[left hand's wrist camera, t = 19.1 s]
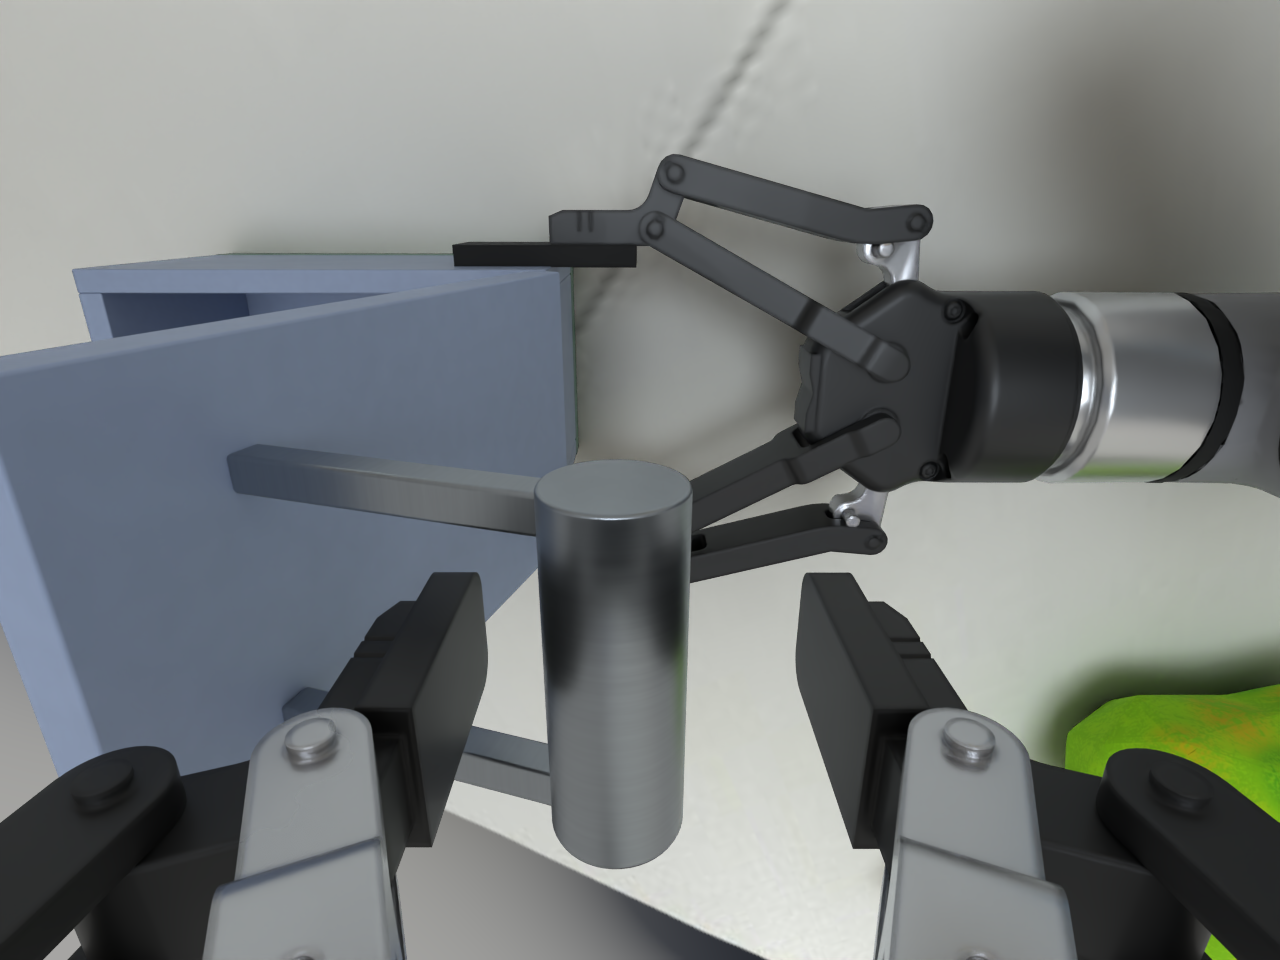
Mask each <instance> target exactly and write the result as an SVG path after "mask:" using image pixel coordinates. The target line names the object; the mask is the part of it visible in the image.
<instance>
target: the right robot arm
mask: <svg viewBox="0 0 1280 960" xmlns="http://www.w3.org/2000/svg"><path fill="white" fill-rule="evenodd" d="M684 198H686V199H689V200H693V201H696V202H700V203H703V204H707V205H711V206H714V207H718V208H721V209H725V210H728V211H732V212H735V213H739V214H742V215H746V216H749V217H753V218H756V219H760V220H763V221H767V222H770V223H774V224H777V225H781V226H785V227H788V228H792V229H795V230H799V231H802V232H806V233H809V234H813V235H816V236H820V237H823V238H827V239H832V240H836V241H842V242H850V243H856V250H857V255H858V257H859V258H860V260H861V261H863V262H865V263H868V264H872V265H876V266H877V267H879V268H880V269H881V270H882V273H883V276H884V281H883V282H881V283H879V284H878V285H877V286H875V287H874V288H872V289H871V290H869V291H868V292H866V293H865V294H863V295H862V296H860V297H859V298H858V299H856V300H855V301H853V302H852V303H850V304H849V305H847V306H846V307H844V308H843V309H842V310H840V311H839V312H837V313H835V312H834V311H832V310H830V309H828V308H827V307H825V306H823V305H822V304H820V303H818V302H816V301H814V300H813V299H811V298H809V297H807V296H806V295H804V294H802V293H801V292H799V291H797V290H795V289H794V288H792V287H790V286H788V285H787V284H785V283H783V282H782V281H780V280H778V279H776V278H775V277H773V276H771V275H770V274H768V273H766V272H764V271H763V270H761V269H759V268H758V267H756V266H754V265H752V264H751V263H749V262H747V261H746V260H744V259H742V258H740V257H739V256H737V255H735V254H733V253H732V252H730V251H728V250H727V249H725V248H723V247H721V246H720V245H718V244H716V243H715V242H713V241H711V240H709V239H708V238H706V237H704V236H703V235H701V234H699V233H697V232H696V231H694V230H692V229H690V228H689V227H687V226H685V225H684V224H682V223H680V222H678V221H677V220H676V218H677V215H678V213H679V210H680V207H681V204H682V202H683V199H684ZM932 225H933V215H932V213H931V211H930V210H929V208H927V207H925V206H924V205H917V204H916V205H891V206H881V207H871V208H863V207H859V206H856V205H852V204H849V203H845V202H842V201H838V200H835V199H831V198H828V197H825V196H821V195H818V194H814V193H811V192H807V191H804V190H800V189H797V188H793V187H790V186H786V185H783V184H780V183H776V182H773V181H769V180H766V179H762V178H759V177H755V176H752V175H748V174H745V173H742V172H738V171H735V170H731V169H728V168H724V167H721V166H717V165H714V164H710V163H707V162H704V161H700V160H697V159H693V158H690V157H686V156H683V155H679V154H672V155H669V156H666V157H665V158H664V159H663V160H662V161H661V163H660V165H659V167H658V169H657V172H656V175H655V178H654V181H653V184H652V187H651V190H650V192H649V195H648V197H647V199H646V201H645V202H644V203H643V204H642V205H641V206H640V207H638V208H636V209H633V210H562V211H559V212H557V213H555V214H552V215H550V216H549V234H550V242H467V243H461V244H455V245H452V247H453V258H454V266H550V267H636V264H637V246H650V247H652V248H654V249H656V250H657V251H659V252H661V253H663V254H664V255H666V256H668V257H670V258H671V259H673V260H675V261H677V262H678V263H680V264H682V265H684V266H685V267H687V268H689V269H691V270H692V271H694V272H696V273H698V274H699V275H701V276H703V277H705V278H707V279H708V280H710V281H712V282H714V283H715V284H717V285H719V286H721V287H722V288H724V289H726V290H728V291H729V292H731V293H733V294H735V295H736V296H738V297H740V298H742V299H743V300H745V301H747V302H749V303H750V304H752V305H754V306H756V307H757V308H759V309H761V310H763V311H764V312H766V313H768V314H770V315H771V316H773V317H775V318H777V319H778V320H780V321H782V322H784V323H785V324H787V325H789V326H791V327H792V328H794V329H796V330H797V331H799V332H801V333H802V334H804V335H806V336H807V337H808V338H807V340H806V341H805V344H804V345H800V353H799V368H800V374H801V379H802V384H801V387H800V390H799V393H798V396H797V398H796V401H795V413H794V419H795V421H796V422H797V424H795V425H793V426H791V427H789V428H787V429H785V430H783V431H781V432H780V433H778V434H777V435H776V436H775V437H774V438H773V440H771V441H770V442H768V443H766V444H764V445H762V446H760V447H758V448H756V449H754V450H752V451H750V452H748V453H746V454H744V455H742V456H740V457H738V458H736V459H734V460H732V461H730V462H728V463H726V464H724V465H722V466H720V467H718V468H715V469H713V470H711V471H709V472H707V473H705V474H703V475H701V476H699V477H697V478H695V479H693V480H691V481H689V482H690V483H691V486H692V489H693V494H692V527H691V560H690V583H693V582H698V581H702V580H706V579H711V578H715V577H720V576H724V575H729V574H733V573H737V572H742V571H746V570H751V569H755V568H759V567H764V566H768V565H773V564H777V563H782V562H786V561H790V560H795V559H799V558H804V557H808V556H813V555H817V554H821V553H826V552H830V551H832V552H843V553H855V554H866V555H874V554H878V553H880V552H881V551H882V550H884V549H885V547H886V545H887V536H886V534H885V532H884V531H883V530H882V529H881V521H882V517H883V513H884V508H885V504H886V500H887V496H888V492H890V491H893V490H896V489H898V488H900V487H902V486H904V485H906V484H909V483H912V482H917V481H933V482H1027V481H1030V480H1033V479H1037V480H1039V481H1043V482H1047V483H1100V482H1147V483H1163V482H1194V483H1233V484H1240V485H1246V486H1250V487H1254V488H1258V489H1261V490H1263V491H1265V492H1268V493H1270V494H1272V495H1274V496H1277V497H1279V498H1280V293H1216V294H1188V293H1165V292H1162V293H1159V292H1058V293H1056V294H1053V295H1050V296H1048V295H1047V294H1045V293H1041V292H1036V291H936V290H934V289H932V288H930V287H928V286H927V285H925V284H924V283H922V282H920V281H918V274H919V253H920V239H922V238H923V237H925V236H926V235H927V234H928V233H929V231H930V230H931V228H932ZM839 468H840V469H841V470H842V471H844V472H845V473H846V474H848V475H849V476H851V477H852V478H853V479H855V480H856V481H857V482H859V483H858V485H857V487H856V488H855V489H854V490H853V491H851V492H849V493H845V494H837V495H835V496H834V497H833V498H832V500H831V501H830V504H826V503H821V504H810V505H805V506H800V507H795V508H791V509H787V510H782V511H778V512H774V513H770V514H765V515H761V516H757V517H752V518H748V519H744V520H740V521H735V522H731V523H727V524H722V525H718V526H714V527H709V528H705V529H702V528H704V527H706V526H708V525H710V524H712V523H714V522H716V521H718V520H720V519H723V518H725V517H727V516H729V515H731V514H733V513H735V512H737V511H739V510H741V509H743V508H745V507H748V506H750V505H752V504H754V503H756V502H758V501H760V500H762V499H764V498H766V497H768V496H770V495H773V494H775V493H777V492H779V491H781V490H783V489H785V488H787V487H789V486H791V485H794V484H807V483H809V482H812V481H814V480H816V479H818V478H820V477H822V476H824V475H826V474H829V473H831V472H833V471H835V470H837V469H839ZM700 529H701V530H700Z"/></svg>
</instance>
